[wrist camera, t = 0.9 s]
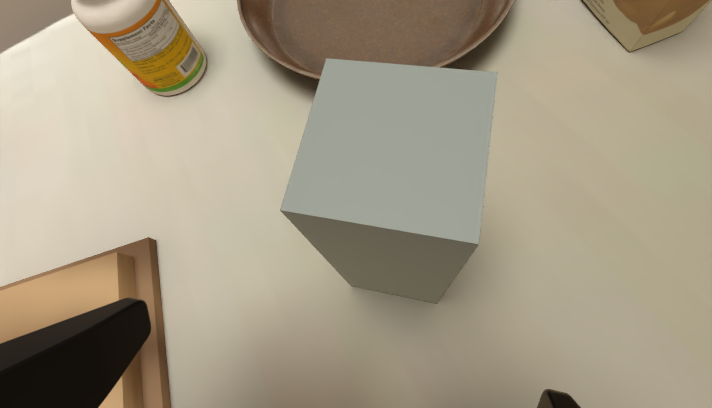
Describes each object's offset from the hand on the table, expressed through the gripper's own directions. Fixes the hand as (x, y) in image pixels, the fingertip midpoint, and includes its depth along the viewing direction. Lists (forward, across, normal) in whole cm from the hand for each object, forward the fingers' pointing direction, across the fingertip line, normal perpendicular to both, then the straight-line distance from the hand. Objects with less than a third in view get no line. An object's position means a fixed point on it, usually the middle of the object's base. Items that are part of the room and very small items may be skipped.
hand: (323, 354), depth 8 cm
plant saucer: (+27, +4, -9) cm, 29 cm away
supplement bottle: (+22, +20, -4) cm, 29 cm away
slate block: (+13, -1, +5) cm, 14 cm away
